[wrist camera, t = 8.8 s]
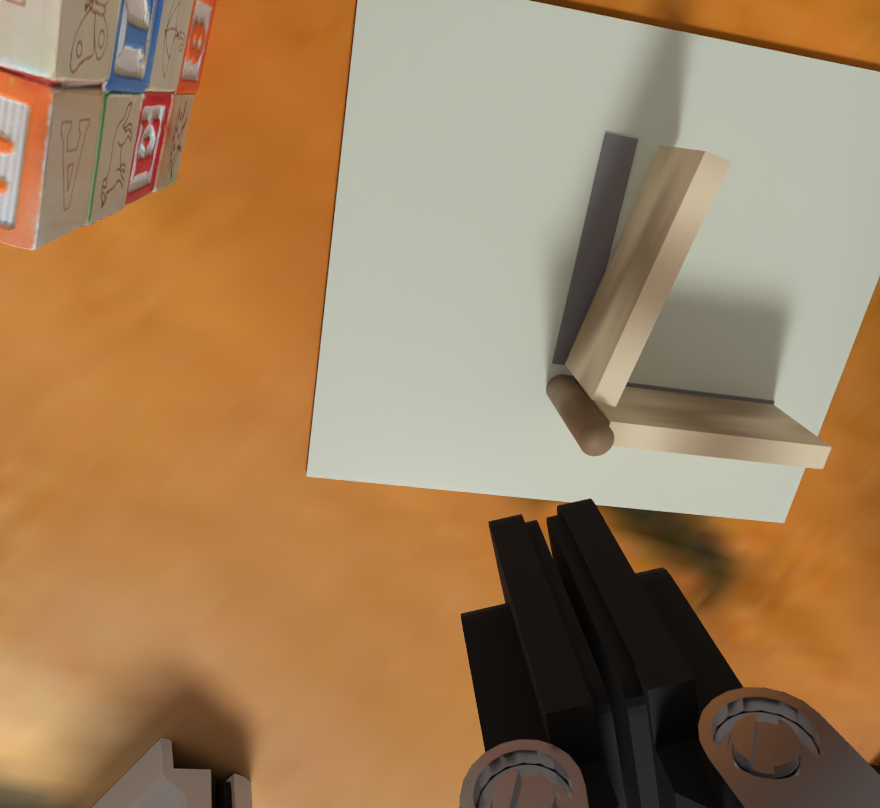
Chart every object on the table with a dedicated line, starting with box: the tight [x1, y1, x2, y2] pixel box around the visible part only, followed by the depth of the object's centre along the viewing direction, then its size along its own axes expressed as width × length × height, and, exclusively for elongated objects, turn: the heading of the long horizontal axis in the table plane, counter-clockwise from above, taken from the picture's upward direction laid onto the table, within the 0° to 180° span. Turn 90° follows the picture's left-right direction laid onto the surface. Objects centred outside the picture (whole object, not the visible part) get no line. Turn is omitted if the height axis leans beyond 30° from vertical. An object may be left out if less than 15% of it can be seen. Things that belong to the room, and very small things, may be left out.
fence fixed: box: [546, 374, 831, 469], centre depth 27 cm, size 10×1×5 cm, turn 81°
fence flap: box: [565, 145, 731, 407], centre depth 25 cm, size 8×1×4 cm, turn 160°
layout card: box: [306, 0, 880, 523], centre depth 28 cm, size 21×18×1 cm
